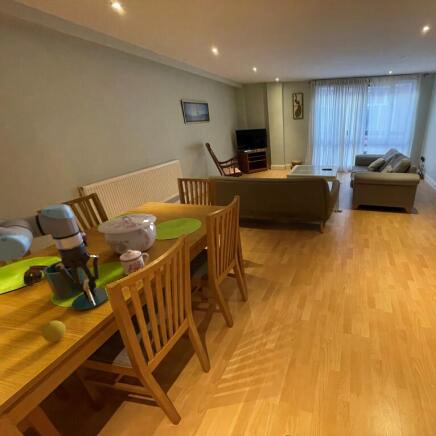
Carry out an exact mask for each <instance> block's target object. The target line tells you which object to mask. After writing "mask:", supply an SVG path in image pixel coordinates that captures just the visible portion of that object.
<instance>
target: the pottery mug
mask: <svg viewBox="0 0 436 436" xmlns="http://www.w3.org/2000/svg"><path fill="white" fill-rule="evenodd" d="M48 266H49V265H44V264H43V265H42V264H41V265H39V264H38V265H37V264H35V265H34V264H33V265H29V268H28V269H26V270H25V271H24V273H23V276H22V277H23V285H25V286H34V283H35V284H37V283H40V282H42V277H43V270H44V269H45V268H46V267H48Z"/></svg>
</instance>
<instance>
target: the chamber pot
mask: <svg viewBox="0 0 436 436" xmlns="http://www.w3.org/2000/svg"><path fill="white" fill-rule="evenodd" d="M156 221H157V217H156V216H155V215H153V214H149V213H131V214H126V215H121V216H117V217H115V218H111V219H109V220H107V221H105V222H103V223H101V224H100V225H99V226H98V227H97V231H98V233H102V234H103V235H104V236H103V239H104V241H105V243H106V245H107V246H108V247H109V249H110V250H111V251H114V252H115V253H116V254H118V255H123V254H124V253H126V252H127V251H128V250H132V251H140V252H141V253H144V252H146V251H148V249H150V248H151V247H152V246H153V245H154V243H155V240H156V238H157V228H156V225H155V224H154V223H155V222H156Z"/></svg>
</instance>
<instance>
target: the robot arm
mask: <svg viewBox="0 0 436 436" xmlns="http://www.w3.org/2000/svg"><path fill="white" fill-rule="evenodd" d="M80 232H81V231H80V229H79V226H78V223H77V221H76V218H75V214H73V211H72V209H71V207H70V206H69V205H67V204H63V203H58V204H52V205H48V206H44V207H43V208H41V209H40V213H39V214H35V215H34V214H33V215H28V216H20V217H15V218H6V219H4V220H0V262H11V261H16V260H18V259H20V258H22V257H23V256H24V255H26V253H27V252H28V251H29V250H30V248H31V245H32V242H33V241H34V239H35V238H40V237H45V236H48V235H50V236H51V238H52V240H53V242H54V245H55V247H56V249H57V252H58V254H59V257H60V258H61V260H60V261H61V263H60V264H57V265H56V266H55V270H57V271H58V272H60V273H61V275H62V276H63V277H64V279H65V280H66V281H67V283H68V284H69V285H70V286H71V287H72V286H77V287H78V289H79V291H80V292H83V293H84V295H85V297H86V299H88V298H89V297H88V295H87V293H86V291H84V289H83V285H84V282H82V283H81V279H80V275H79V272H78V267H82V269H83V270H84V272H85V274H86V276H87V279H89V282H88V285H89V287H90V290H91V292H92V295H93V297H95V296H96V291H95V289H96V288H97V282H96V281H97V280H99V278H100V271H99V262H98V261H99V257H100V255H99V254H94V255H93V254H91V253H89V252H88V250H87V246H85V244H84V243H83V239H82V237H81V234H80ZM89 260H90V262H92V268H93V273H92V270H91V268H90V267H89V265H88V262H89ZM64 265H65V266H68V267H70V268H71V270H72V272H73V275H74V279H75V281H74V280H73V278H72V277H71V275H70V274H69V273H68V271H67V270H66V269H65V268H64V267H65V266H64ZM90 290H89V291H90Z"/></svg>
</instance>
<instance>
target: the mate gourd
mask: <svg viewBox="0 0 436 436" xmlns="http://www.w3.org/2000/svg"><path fill="white" fill-rule="evenodd" d="M79 232H80V234H81V237H82V239H83V243H84V244H85V247H88V242H87V241H88V235H87V234H86V232H84V231H79Z"/></svg>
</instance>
